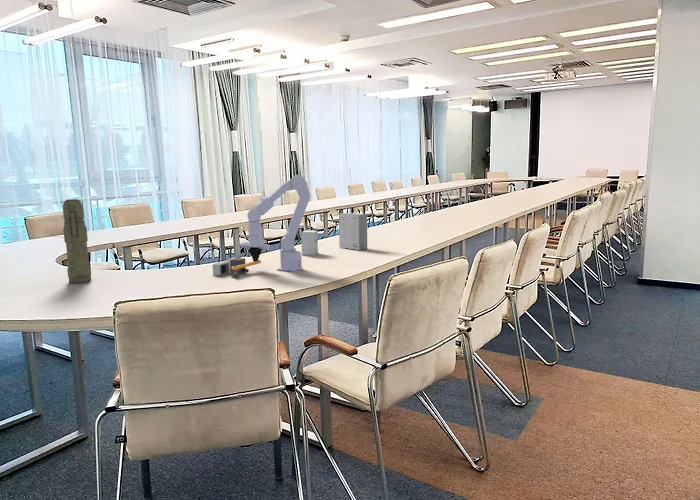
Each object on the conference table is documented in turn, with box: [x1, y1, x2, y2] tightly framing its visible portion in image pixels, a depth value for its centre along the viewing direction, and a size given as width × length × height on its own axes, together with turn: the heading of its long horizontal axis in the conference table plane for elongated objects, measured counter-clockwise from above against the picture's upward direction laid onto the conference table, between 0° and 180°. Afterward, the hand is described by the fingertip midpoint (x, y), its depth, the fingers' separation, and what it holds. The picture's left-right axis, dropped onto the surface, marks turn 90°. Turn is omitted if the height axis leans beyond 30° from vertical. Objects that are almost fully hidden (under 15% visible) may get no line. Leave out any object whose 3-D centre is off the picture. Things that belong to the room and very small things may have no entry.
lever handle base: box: [230, 270, 240, 279], centre depth 231 cm, size 4×4×3 cm
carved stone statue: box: [62, 198, 92, 285], centre depth 223 cm, size 9×12×35 cm
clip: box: [232, 259, 262, 270], centre depth 237 cm, size 3×18×2 cm, turn 149°
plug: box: [227, 257, 250, 275], centre depth 239 cm, size 9×5×6 cm, turn 67°
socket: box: [212, 259, 229, 277], centre depth 241 cm, size 4×16×5 cm, turn 157°
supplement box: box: [300, 230, 319, 256], centre depth 283 cm, size 7×7×13 cm
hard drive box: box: [338, 212, 368, 251], centre depth 299 cm, size 16×8×20 cm, turn 49°
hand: (256, 263), depth 244 cm, fingers closed
